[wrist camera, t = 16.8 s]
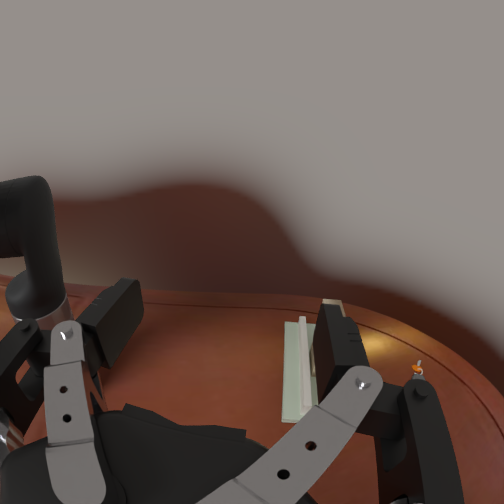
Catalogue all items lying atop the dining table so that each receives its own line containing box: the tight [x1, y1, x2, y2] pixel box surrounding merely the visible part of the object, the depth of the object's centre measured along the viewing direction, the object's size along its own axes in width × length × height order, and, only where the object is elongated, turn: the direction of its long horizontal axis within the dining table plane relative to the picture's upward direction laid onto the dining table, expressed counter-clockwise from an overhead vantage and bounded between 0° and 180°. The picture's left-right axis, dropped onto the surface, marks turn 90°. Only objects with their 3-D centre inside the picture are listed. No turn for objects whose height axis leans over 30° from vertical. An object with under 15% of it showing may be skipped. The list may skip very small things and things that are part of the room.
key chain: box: [412, 360, 425, 380], centre depth 42 cm, size 13×4×2 cm, turn 159°
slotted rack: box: [281, 316, 318, 423], centre depth 44 cm, size 24×12×4 cm, turn 174°
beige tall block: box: [309, 299, 346, 377], centre depth 42 cm, size 3×6×12 cm, turn 174°
